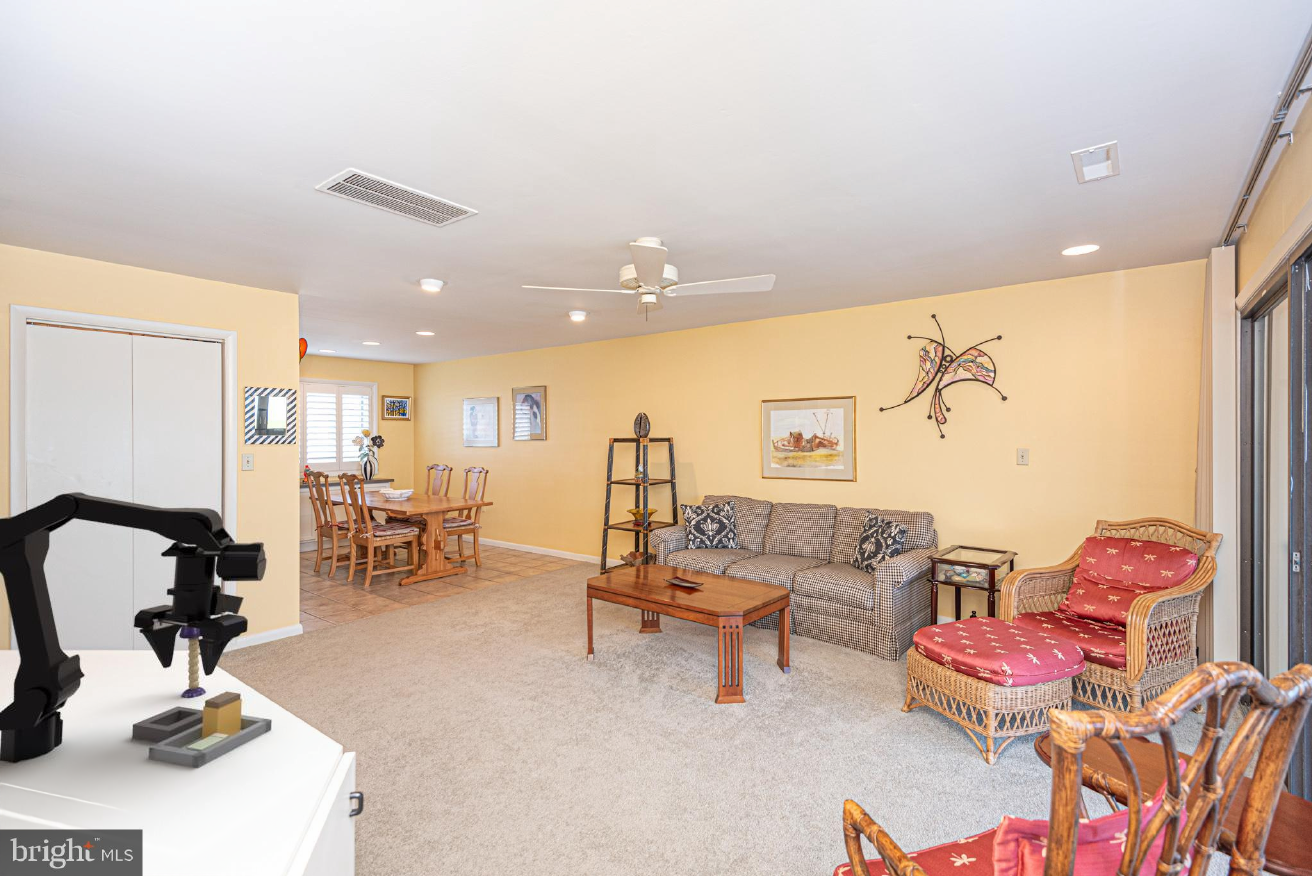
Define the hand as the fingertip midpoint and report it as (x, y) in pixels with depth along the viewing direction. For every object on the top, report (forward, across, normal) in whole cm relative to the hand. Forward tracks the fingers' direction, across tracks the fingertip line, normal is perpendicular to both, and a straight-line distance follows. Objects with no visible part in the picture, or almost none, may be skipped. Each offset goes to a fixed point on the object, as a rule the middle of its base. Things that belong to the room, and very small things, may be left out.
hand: (187, 671), depth 109 cm
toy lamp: (+13, +16, -15) cm, 25 cm away
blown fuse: (+12, -6, -2) cm, 13 cm away
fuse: (+12, -9, +3) cm, 15 cm away
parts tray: (+12, -7, 0) cm, 14 cm away
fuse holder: (+12, +4, -1) cm, 13 cm away
